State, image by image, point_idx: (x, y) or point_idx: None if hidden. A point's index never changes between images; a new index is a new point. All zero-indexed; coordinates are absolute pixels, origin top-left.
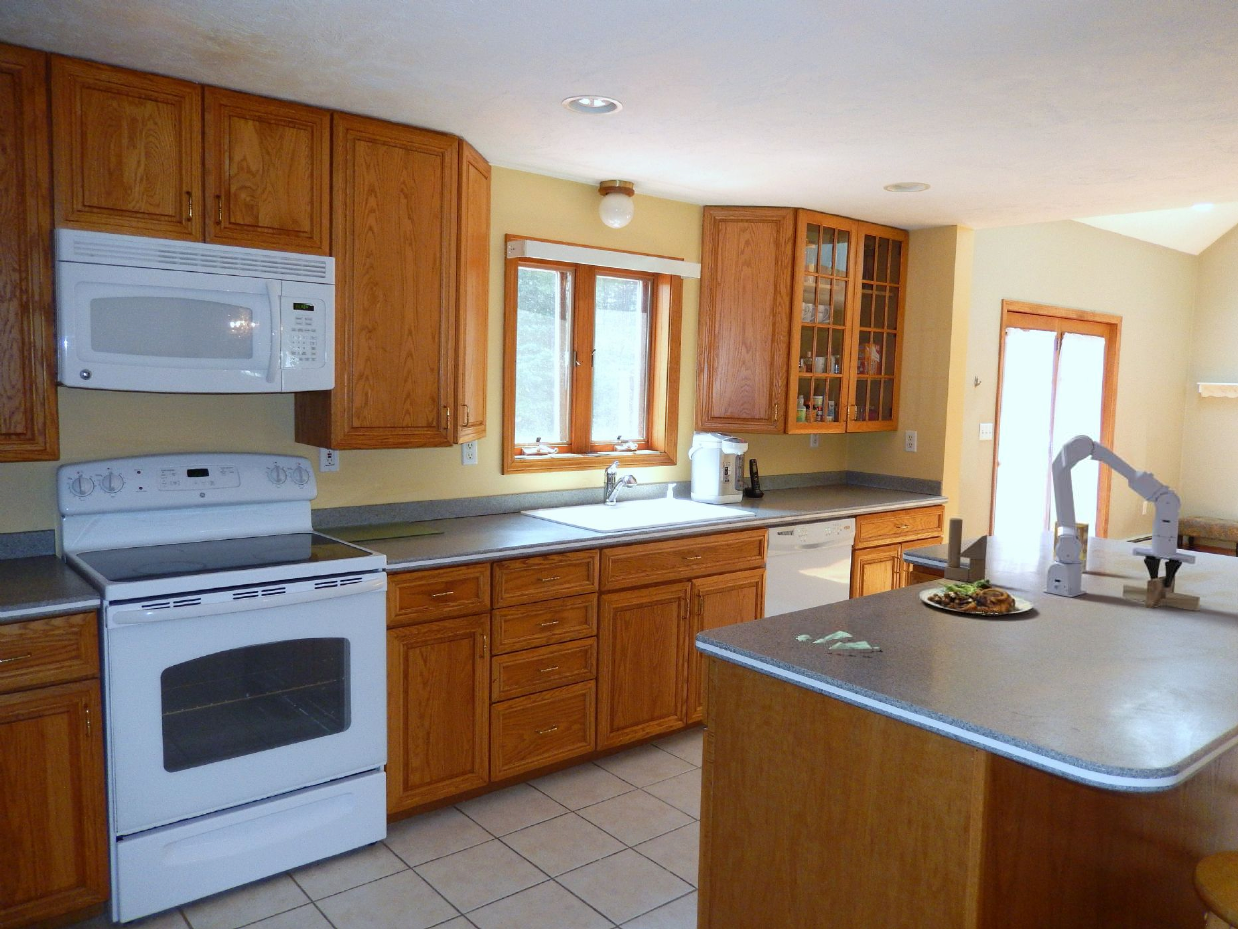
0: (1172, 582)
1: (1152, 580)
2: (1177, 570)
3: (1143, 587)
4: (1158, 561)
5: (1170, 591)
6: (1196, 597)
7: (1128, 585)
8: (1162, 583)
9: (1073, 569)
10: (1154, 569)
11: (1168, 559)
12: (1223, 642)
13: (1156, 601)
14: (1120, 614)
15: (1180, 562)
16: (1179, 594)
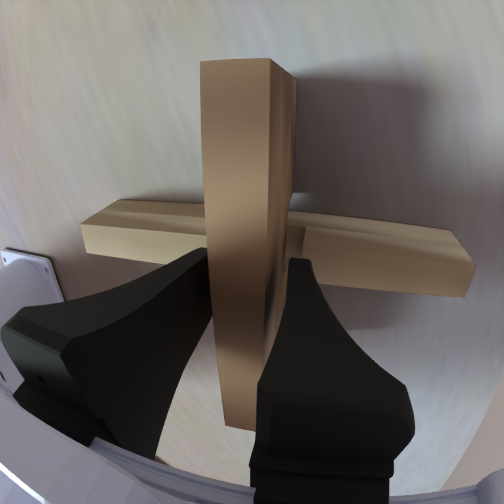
0: (279, 121)
1: (237, 412)
2: (354, 344)
3: (157, 237)
4: (111, 379)
5: (288, 143)
6: (460, 288)
7: (99, 246)
8: (269, 330)
9: (18, 374)
10: (169, 382)
11: (239, 499)
12: (450, 466)
13: (281, 317)
14: (249, 433)
15: (386, 474)
16: (376, 280)
